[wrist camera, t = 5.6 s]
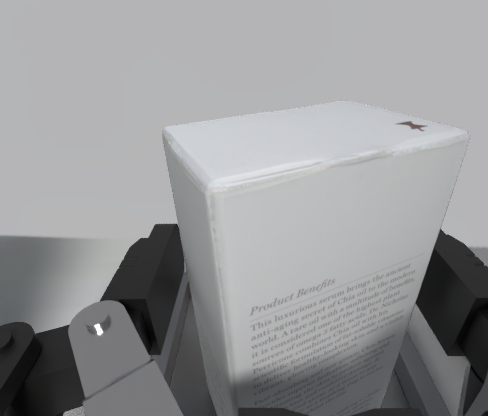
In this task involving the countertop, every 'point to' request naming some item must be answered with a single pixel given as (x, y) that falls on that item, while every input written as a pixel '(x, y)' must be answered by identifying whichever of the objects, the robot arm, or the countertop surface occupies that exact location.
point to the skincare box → (308, 247)
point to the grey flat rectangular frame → (406, 367)
